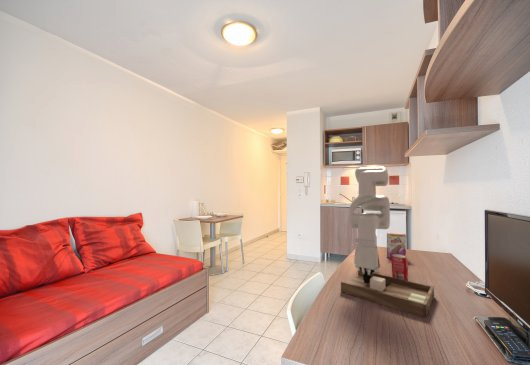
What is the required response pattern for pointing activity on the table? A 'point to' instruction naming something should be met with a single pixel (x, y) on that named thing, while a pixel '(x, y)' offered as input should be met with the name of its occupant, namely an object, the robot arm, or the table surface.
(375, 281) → the cream block
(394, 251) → the candy bar box
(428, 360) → the table surface
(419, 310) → the board
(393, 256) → the red carton
